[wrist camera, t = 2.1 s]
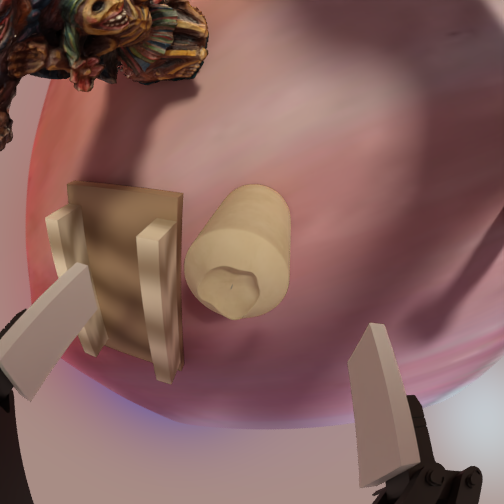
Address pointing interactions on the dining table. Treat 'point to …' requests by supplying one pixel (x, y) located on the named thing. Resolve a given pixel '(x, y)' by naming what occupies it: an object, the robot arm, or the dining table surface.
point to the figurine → (97, 43)
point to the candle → (242, 254)
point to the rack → (126, 268)
